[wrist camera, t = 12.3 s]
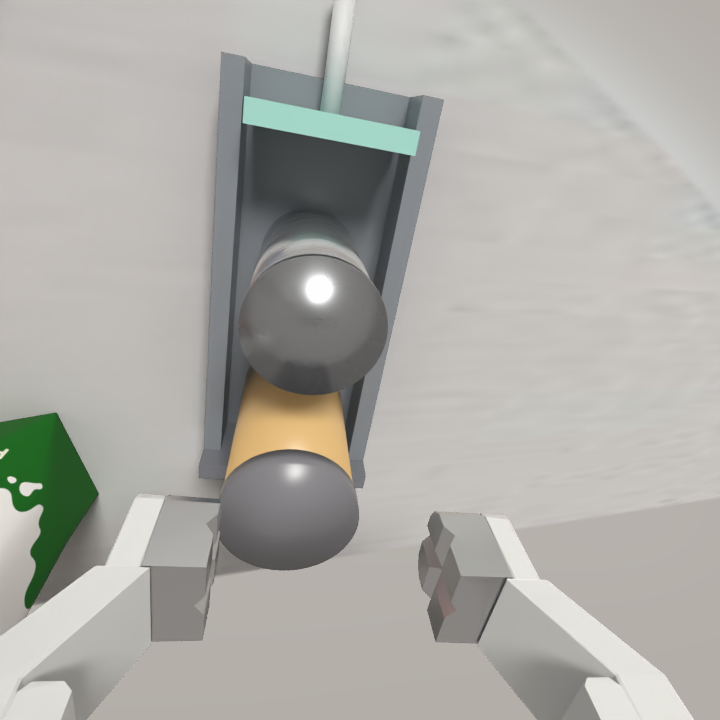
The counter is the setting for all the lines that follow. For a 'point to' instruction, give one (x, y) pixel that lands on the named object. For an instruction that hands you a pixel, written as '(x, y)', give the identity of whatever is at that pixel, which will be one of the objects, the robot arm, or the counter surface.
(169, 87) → the counter surface
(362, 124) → the pusher
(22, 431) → the milk carton
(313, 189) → the grey tray
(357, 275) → the steel tin
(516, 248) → the counter surface
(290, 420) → the amber jar
